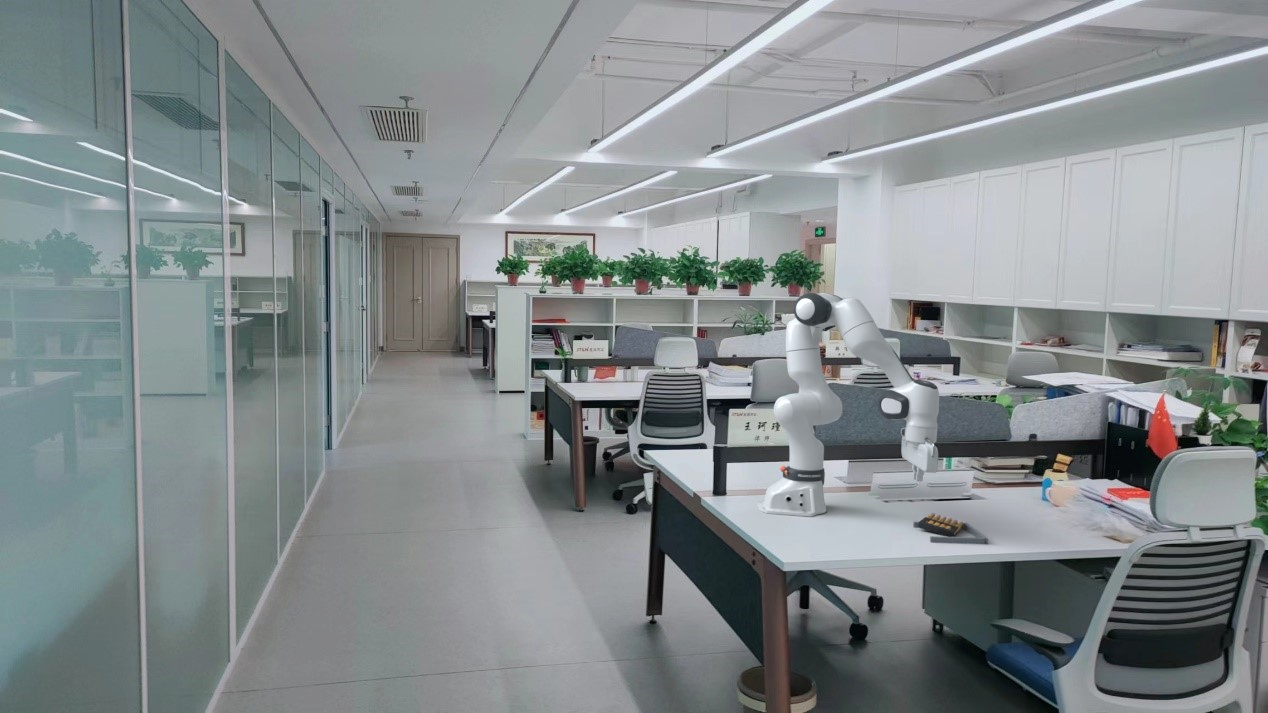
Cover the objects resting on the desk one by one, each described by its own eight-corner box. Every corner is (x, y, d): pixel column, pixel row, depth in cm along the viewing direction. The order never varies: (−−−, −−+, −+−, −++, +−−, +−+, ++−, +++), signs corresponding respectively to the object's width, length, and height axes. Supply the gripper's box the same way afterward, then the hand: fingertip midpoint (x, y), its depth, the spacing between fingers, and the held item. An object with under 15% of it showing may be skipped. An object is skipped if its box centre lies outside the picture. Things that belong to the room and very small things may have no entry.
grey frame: (930, 543, 251) (931, 537, 251) (913, 527, 268) (913, 521, 268) (987, 544, 250) (988, 538, 250) (966, 528, 267) (966, 522, 267)
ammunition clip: (953, 538, 257) (965, 525, 266) (954, 532, 256) (966, 520, 265) (917, 527, 263) (931, 515, 272) (918, 521, 262) (932, 510, 272)
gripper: (945, 442, 247) (941, 489, 248) (918, 428, 267) (915, 472, 268) (924, 441, 246) (920, 489, 248) (898, 428, 267) (895, 471, 268)
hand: (917, 480), depth 258 cm, fingers closed
